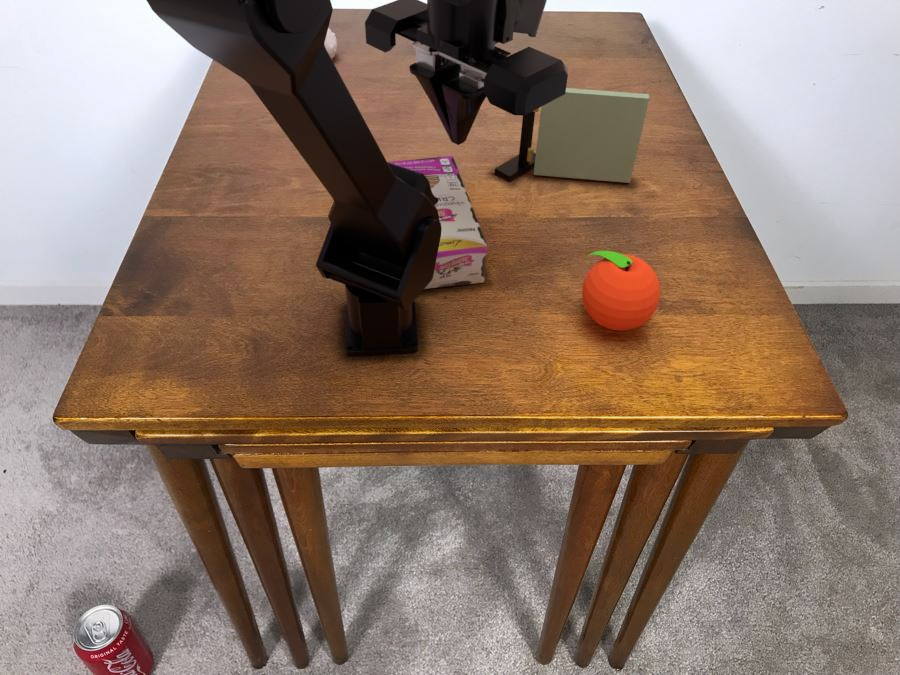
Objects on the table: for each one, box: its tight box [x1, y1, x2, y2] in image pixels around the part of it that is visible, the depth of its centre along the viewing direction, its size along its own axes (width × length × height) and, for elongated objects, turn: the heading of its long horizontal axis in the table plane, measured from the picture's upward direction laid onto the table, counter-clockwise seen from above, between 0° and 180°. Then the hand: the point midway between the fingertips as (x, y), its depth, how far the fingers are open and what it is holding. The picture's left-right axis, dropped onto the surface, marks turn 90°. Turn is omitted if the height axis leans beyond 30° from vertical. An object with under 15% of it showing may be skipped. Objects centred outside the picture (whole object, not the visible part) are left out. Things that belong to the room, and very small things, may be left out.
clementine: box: [581, 250, 661, 331], centre depth 65 cm, size 8×7×7 cm
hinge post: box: [494, 108, 540, 183], centre depth 81 cm, size 6×3×12 cm, turn 135°
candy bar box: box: [388, 155, 488, 290], centre depth 73 cm, size 11×5×16 cm
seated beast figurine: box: [324, 26, 338, 60], centre depth 100 cm, size 10×9×12 cm
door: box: [533, 87, 650, 184], centre depth 80 cm, size 1×11×10 cm, turn 83°
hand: (458, 142), depth 66 cm, fingers closed
